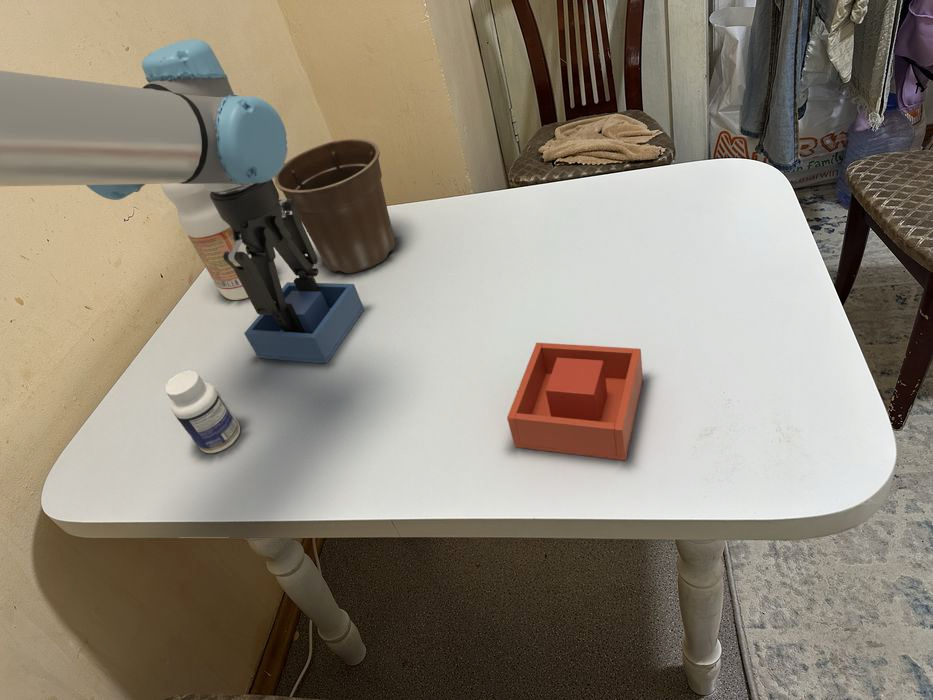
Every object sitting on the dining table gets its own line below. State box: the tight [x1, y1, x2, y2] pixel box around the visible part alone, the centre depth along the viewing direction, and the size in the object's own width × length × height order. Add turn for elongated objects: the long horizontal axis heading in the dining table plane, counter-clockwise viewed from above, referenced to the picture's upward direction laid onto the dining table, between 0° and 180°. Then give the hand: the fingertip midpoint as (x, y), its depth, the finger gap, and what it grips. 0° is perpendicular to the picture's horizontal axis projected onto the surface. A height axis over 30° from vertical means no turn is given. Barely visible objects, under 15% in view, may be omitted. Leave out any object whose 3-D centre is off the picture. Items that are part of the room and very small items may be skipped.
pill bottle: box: [164, 369, 241, 454], centre depth 78 cm, size 5×5×10 cm
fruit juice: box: [160, 183, 249, 301], centre depth 100 cm, size 9×9×28 cm
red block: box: [546, 358, 607, 422], centre depth 69 cm, size 5×5×5 cm
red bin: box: [506, 342, 644, 461], centre depth 70 cm, size 12×12×5 cm
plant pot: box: [273, 138, 396, 274], centre depth 103 cm, size 16×16×16 cm
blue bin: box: [243, 281, 365, 364], centre depth 93 cm, size 12×12×5 cm
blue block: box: [282, 291, 330, 334], centre depth 92 cm, size 5×5×5 cm
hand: (310, 328), depth 94 cm, fingers closed on blue block, 5 cm apart
